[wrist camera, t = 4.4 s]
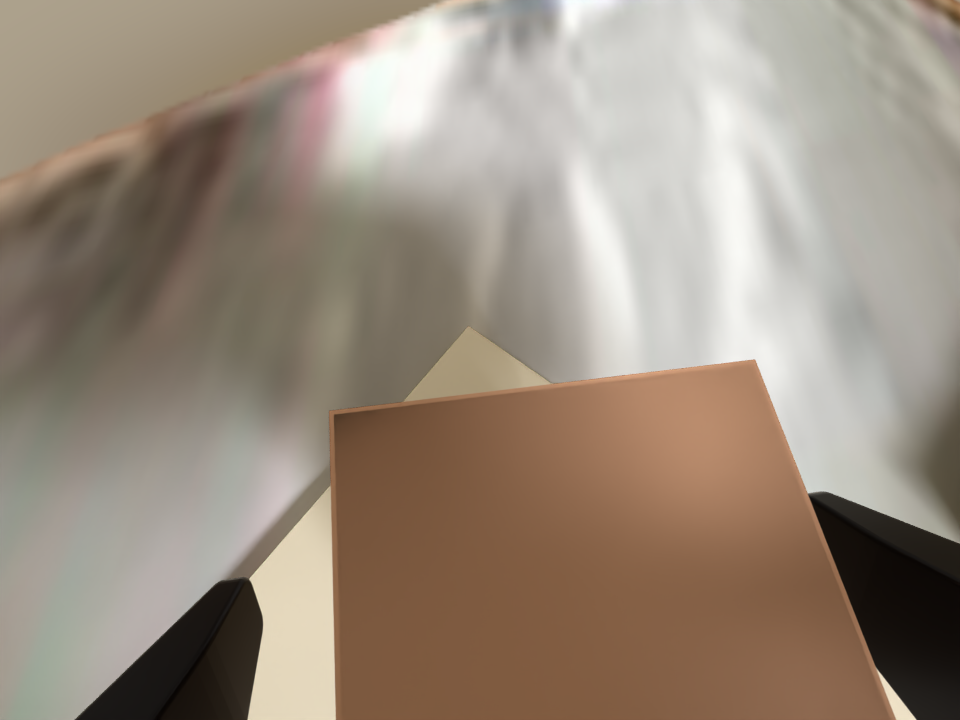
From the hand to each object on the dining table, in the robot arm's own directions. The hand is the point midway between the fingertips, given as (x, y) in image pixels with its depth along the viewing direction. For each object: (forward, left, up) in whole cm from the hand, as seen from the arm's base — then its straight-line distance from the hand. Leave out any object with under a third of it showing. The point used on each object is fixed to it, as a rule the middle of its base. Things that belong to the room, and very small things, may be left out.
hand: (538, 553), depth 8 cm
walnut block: (-1, +1, -7) cm, 7 cm away
